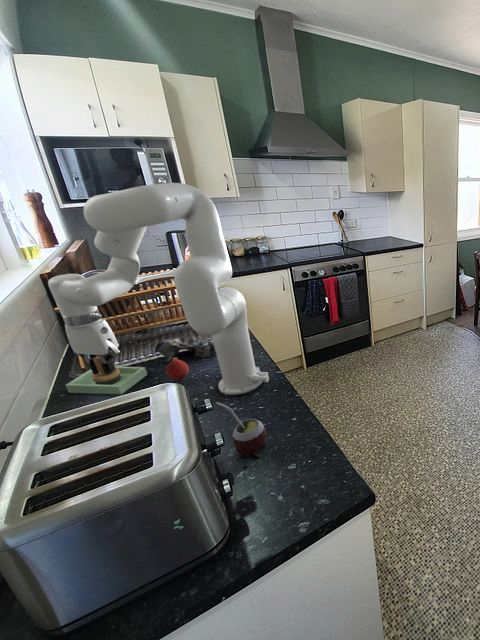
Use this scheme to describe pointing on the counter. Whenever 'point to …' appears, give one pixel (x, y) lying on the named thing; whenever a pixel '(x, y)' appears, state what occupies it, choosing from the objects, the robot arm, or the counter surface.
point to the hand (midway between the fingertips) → (104, 371)
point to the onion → (177, 369)
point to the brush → (102, 377)
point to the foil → (183, 347)
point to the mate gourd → (247, 435)
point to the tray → (88, 385)
